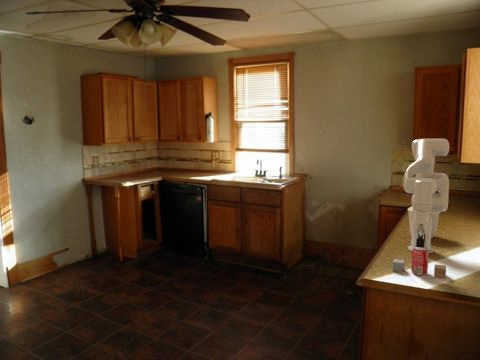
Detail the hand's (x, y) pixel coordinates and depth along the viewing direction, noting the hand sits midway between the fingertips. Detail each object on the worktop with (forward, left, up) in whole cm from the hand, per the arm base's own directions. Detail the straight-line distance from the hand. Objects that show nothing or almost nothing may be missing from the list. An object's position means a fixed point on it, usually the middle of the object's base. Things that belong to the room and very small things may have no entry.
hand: (420, 244), depth 183 cm
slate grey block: (-1, -9, -14) cm, 17 cm away
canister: (-66, -1, -14) cm, 67 cm away
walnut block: (-1, +8, -14) cm, 16 cm away
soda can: (-1, 0, -14) cm, 14 cm away
